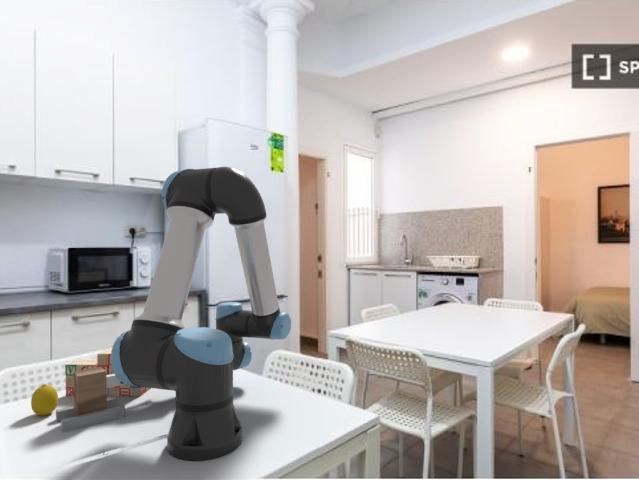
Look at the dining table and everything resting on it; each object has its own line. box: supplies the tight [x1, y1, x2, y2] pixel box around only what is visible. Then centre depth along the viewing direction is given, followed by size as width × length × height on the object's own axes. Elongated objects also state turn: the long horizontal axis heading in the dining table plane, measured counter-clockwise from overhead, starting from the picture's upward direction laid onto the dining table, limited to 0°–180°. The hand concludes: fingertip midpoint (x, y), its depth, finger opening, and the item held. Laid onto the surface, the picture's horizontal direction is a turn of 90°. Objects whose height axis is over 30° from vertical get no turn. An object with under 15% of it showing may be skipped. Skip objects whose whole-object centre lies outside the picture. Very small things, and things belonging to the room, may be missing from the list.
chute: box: [55, 396, 126, 433], centre depth 103 cm, size 9×13×3 cm
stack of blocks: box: [64, 347, 152, 397], centre depth 121 cm, size 21×6×12 cm, turn 86°
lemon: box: [30, 383, 59, 417], centre depth 106 cm, size 6×6×8 cm
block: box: [73, 367, 108, 417], centre depth 103 cm, size 5×6×11 cm
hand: (104, 382), depth 106 cm, fingers closed
